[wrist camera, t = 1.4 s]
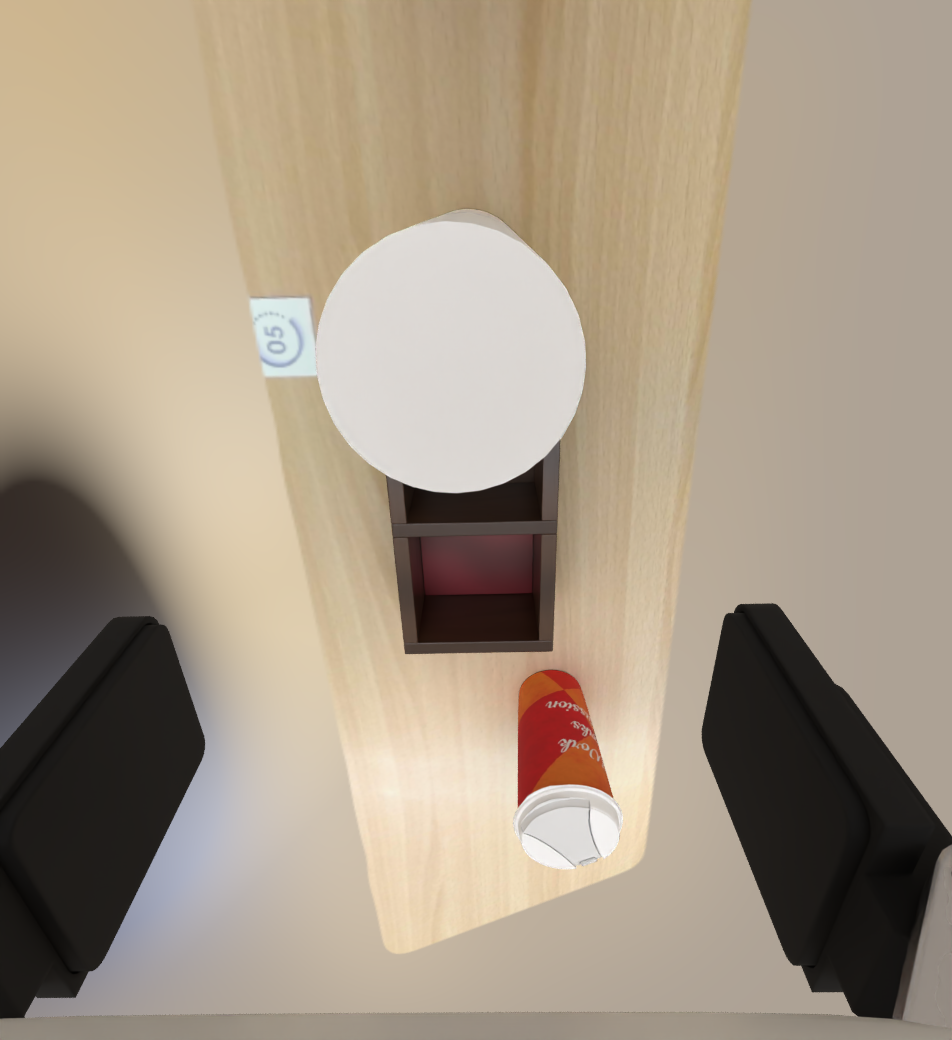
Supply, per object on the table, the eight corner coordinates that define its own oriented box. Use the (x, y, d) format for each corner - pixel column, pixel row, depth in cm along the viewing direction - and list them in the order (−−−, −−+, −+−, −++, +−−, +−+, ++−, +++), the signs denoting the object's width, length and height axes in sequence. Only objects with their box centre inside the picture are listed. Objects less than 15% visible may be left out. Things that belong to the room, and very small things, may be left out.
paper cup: (607, 706, 55) (644, 853, 43) (531, 736, 57) (545, 886, 45) (569, 646, 52) (596, 785, 40) (490, 680, 54) (493, 824, 41)
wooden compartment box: (391, 347, 41) (375, 374, 34) (550, 343, 40) (563, 369, 34) (414, 598, 50) (404, 654, 44) (543, 595, 50) (552, 651, 43)
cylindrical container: (535, 219, 37) (617, 248, 15) (513, 339, 40) (553, 509, 18) (418, 198, 37) (320, 196, 14) (405, 321, 40) (310, 473, 18)
